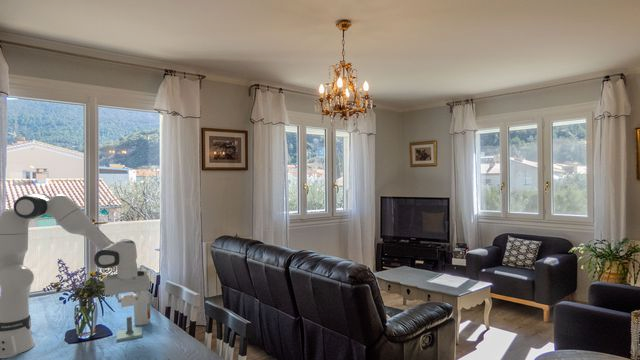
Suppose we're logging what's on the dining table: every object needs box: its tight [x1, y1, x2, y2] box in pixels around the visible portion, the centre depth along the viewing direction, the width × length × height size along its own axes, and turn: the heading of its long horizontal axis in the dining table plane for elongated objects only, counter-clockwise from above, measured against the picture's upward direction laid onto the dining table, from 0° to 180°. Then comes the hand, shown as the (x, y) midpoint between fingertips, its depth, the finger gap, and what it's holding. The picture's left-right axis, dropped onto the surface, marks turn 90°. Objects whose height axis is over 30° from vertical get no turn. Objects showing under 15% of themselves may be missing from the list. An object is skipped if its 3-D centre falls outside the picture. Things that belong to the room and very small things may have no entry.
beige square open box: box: [120, 293, 136, 308], centre depth 194 cm, size 6×6×4 cm
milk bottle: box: [133, 290, 151, 327], centre depth 209 cm, size 8×8×20 cm
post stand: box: [116, 316, 143, 342], centre depth 194 cm, size 11×11×9 cm
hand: (128, 301), depth 194 cm, fingers closed on beige square open box, 6 cm apart
